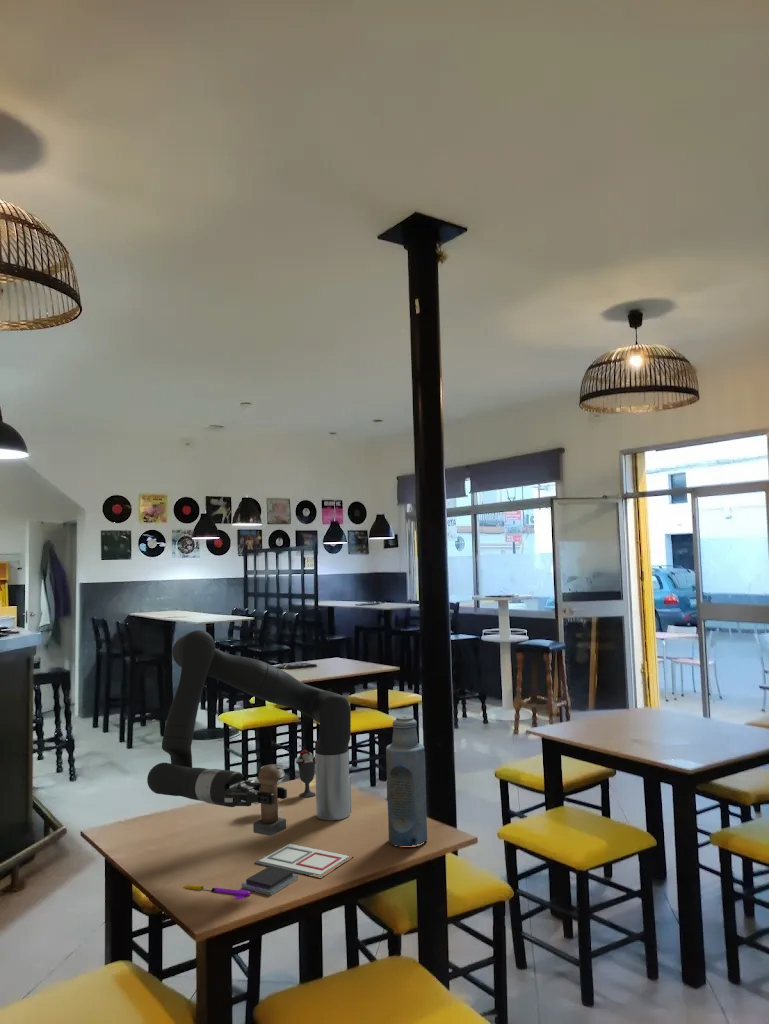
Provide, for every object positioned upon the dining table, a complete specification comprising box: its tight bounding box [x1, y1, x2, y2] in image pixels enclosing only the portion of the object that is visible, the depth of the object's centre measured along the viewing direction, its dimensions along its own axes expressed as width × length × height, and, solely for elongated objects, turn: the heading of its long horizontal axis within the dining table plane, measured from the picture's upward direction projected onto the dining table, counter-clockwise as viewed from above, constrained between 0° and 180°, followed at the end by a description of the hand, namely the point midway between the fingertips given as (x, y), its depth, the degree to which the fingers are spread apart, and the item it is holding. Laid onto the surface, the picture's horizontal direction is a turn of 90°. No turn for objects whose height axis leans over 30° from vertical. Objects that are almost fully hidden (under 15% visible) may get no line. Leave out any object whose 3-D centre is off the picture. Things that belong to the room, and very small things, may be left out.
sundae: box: [295, 744, 316, 798], centre depth 216 cm, size 7×7×15 cm
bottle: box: [385, 715, 428, 846], centre depth 176 cm, size 10×10×30 cm
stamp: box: [252, 764, 287, 837], centre depth 154 cm, size 5×5×14 cm
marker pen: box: [183, 884, 251, 901], centre depth 149 cm, size 3×1×16 cm
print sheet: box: [254, 842, 351, 877], centre depth 165 cm, size 13×19×1 cm
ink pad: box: [241, 866, 298, 896], centre depth 153 cm, size 9×8×2 cm
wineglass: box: [260, 763, 286, 814], centre depth 202 cm, size 7×7×12 cm
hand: (279, 796), depth 153 cm, fingers closed on stamp, 3 cm apart
